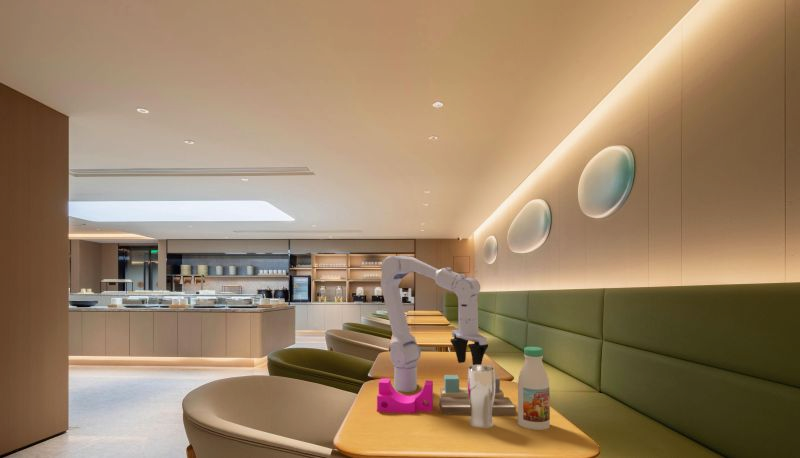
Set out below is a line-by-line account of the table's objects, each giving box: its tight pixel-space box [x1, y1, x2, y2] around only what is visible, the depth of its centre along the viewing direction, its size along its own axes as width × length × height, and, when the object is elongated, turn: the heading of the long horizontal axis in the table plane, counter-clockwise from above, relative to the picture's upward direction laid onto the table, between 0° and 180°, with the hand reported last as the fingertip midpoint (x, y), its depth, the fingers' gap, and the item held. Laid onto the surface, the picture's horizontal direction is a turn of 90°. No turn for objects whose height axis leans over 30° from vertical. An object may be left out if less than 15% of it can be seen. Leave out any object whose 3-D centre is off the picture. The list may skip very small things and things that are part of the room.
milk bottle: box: [517, 346, 551, 431], centre depth 117 cm, size 8×8×20 cm
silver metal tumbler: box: [467, 364, 496, 429], centre depth 117 cm, size 7×7×15 cm
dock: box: [438, 396, 516, 416], centre depth 129 cm, size 8×20×2 cm, turn 90°
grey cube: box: [495, 374, 501, 393], centre depth 137 cm, size 4×4×4 cm
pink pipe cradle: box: [376, 378, 434, 414], centre depth 130 cm, size 15×6×8 cm, turn 83°
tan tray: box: [440, 387, 505, 397], centre depth 137 cm, size 5×18×3 cm, turn 90°
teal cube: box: [443, 374, 460, 393], centre depth 137 cm, size 4×4×4 cm
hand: (469, 365), depth 136 cm, fingers open, 7 cm apart
